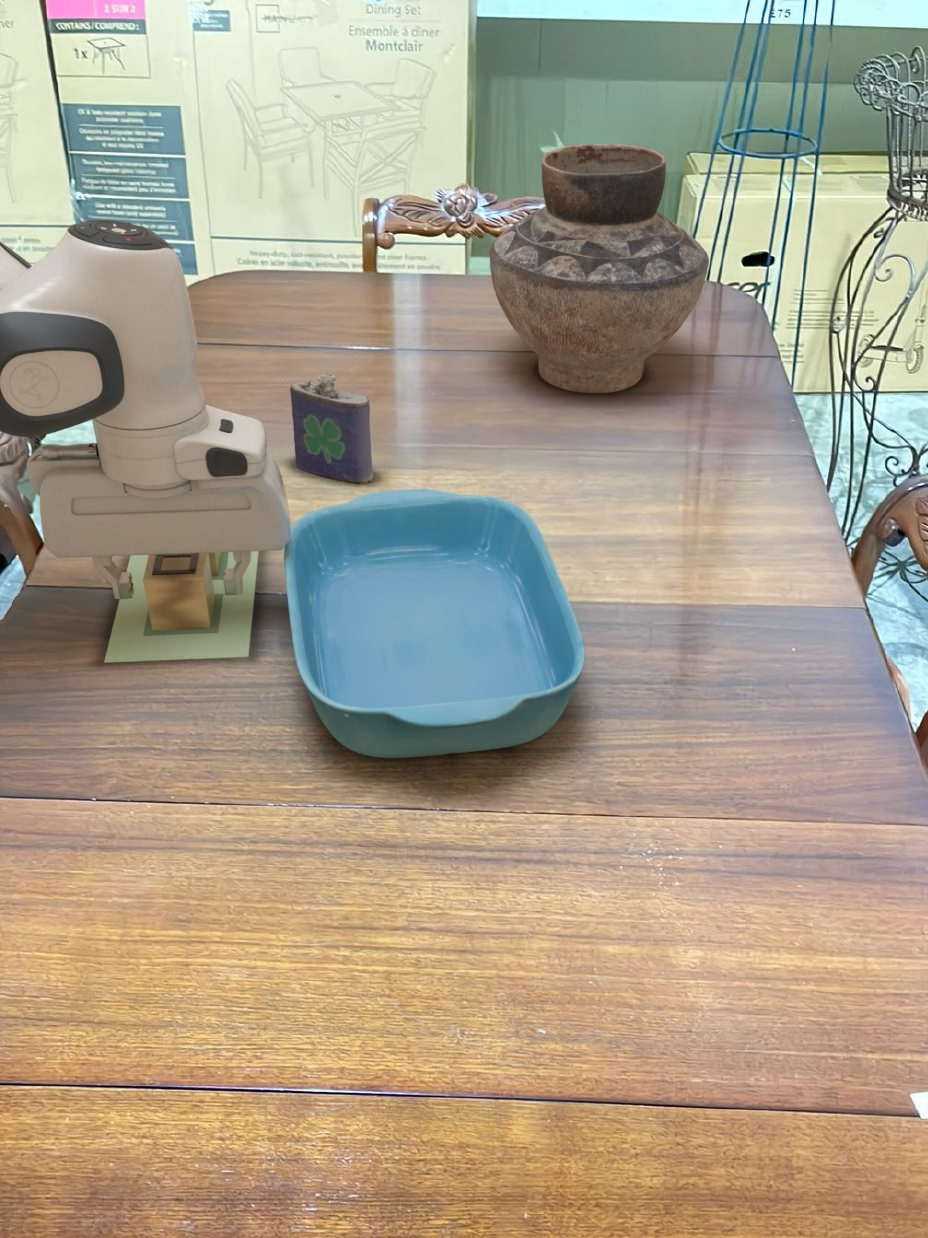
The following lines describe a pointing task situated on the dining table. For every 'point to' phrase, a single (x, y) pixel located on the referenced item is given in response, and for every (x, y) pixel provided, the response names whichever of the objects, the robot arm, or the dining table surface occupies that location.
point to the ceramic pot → (597, 268)
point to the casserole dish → (430, 623)
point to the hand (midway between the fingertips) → (179, 593)
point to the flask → (331, 431)
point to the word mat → (219, 641)
